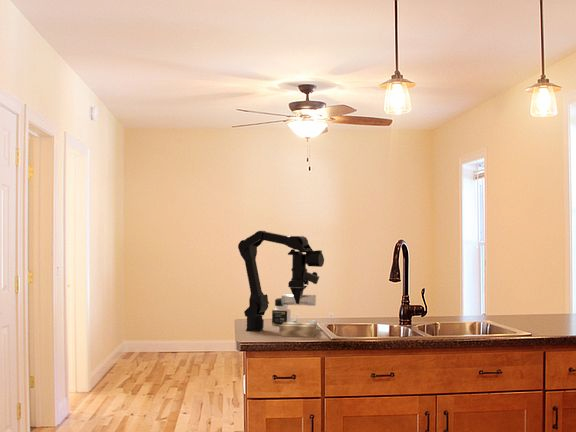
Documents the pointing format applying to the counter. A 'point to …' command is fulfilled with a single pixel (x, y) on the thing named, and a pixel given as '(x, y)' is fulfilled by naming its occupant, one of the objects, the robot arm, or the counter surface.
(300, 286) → the robot arm
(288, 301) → the steel axle
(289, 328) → the beech v-block
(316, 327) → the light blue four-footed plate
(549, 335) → the counter surface
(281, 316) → the medicine bottle
